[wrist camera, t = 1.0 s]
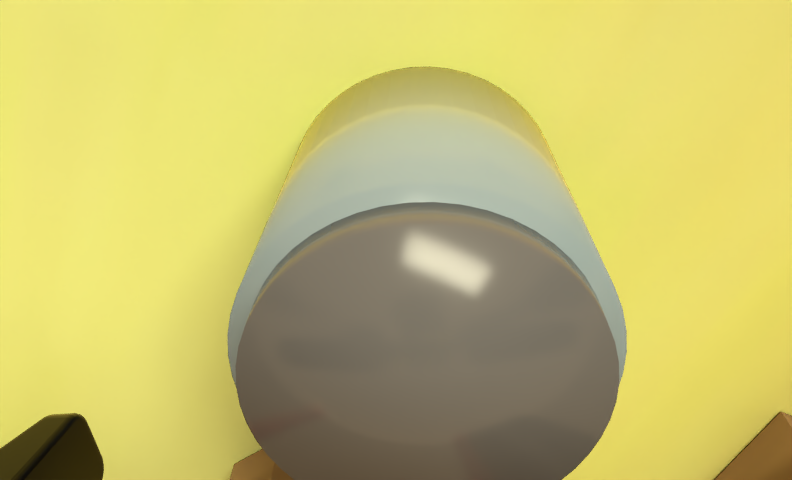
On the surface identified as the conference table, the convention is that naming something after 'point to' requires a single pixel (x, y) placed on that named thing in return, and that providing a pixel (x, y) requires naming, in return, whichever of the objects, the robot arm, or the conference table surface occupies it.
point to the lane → (745, 476)
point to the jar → (426, 295)
